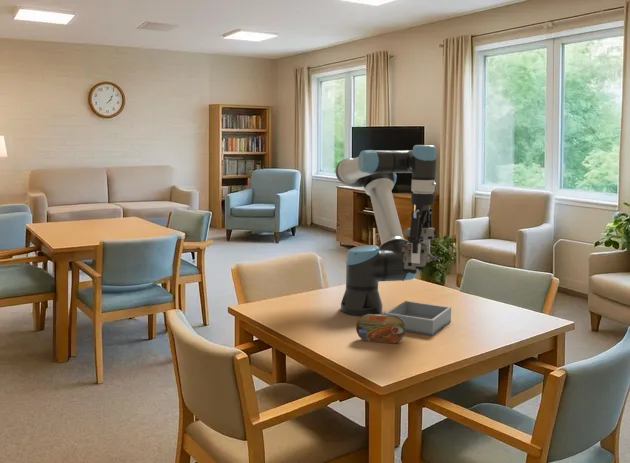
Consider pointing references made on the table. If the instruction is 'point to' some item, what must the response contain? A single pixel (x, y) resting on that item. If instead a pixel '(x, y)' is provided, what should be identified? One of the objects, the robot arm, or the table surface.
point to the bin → (422, 317)
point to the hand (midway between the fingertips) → (420, 260)
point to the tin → (380, 328)
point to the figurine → (424, 251)
